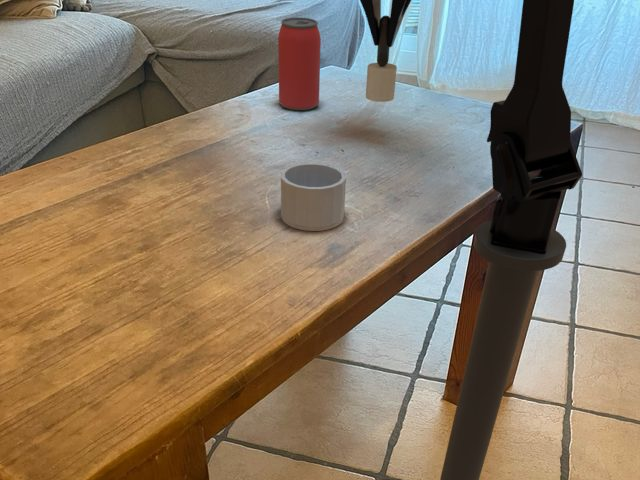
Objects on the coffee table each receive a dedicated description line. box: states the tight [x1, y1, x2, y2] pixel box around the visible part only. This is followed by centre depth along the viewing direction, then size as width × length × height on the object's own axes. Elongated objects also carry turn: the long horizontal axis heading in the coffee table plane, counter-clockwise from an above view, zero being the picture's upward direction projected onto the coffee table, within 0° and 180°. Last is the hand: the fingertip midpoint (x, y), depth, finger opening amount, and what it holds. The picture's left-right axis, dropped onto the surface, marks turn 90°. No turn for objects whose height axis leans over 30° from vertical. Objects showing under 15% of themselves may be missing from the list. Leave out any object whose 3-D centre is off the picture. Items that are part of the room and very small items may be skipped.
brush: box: [365, 15, 398, 103], centre depth 90 cm, size 4×4×10 cm
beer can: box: [277, 17, 322, 111], centre depth 105 cm, size 7×7×12 cm
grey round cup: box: [280, 162, 347, 232], centre depth 77 cm, size 7×7×5 cm
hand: (383, 45), depth 89 cm, fingers closed on brush
